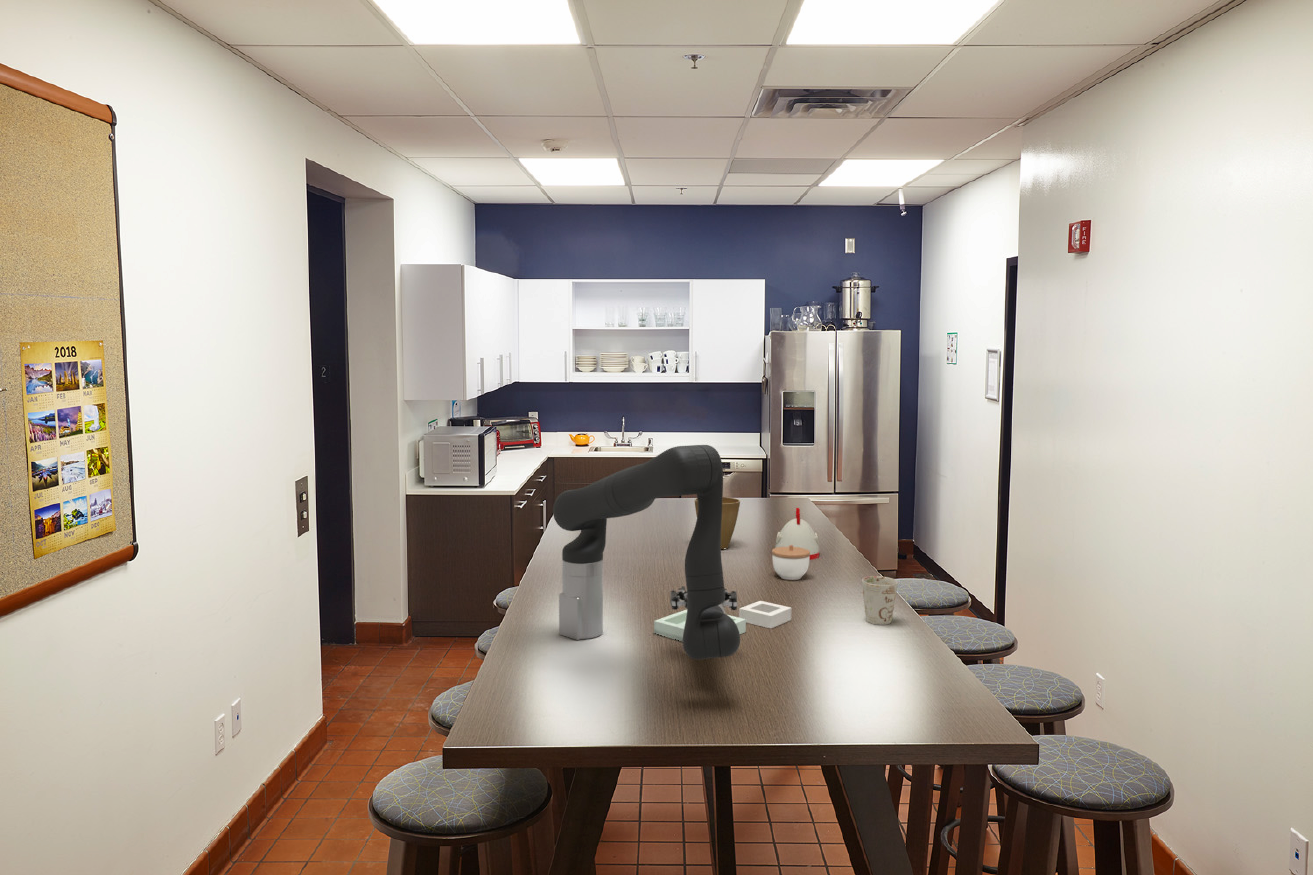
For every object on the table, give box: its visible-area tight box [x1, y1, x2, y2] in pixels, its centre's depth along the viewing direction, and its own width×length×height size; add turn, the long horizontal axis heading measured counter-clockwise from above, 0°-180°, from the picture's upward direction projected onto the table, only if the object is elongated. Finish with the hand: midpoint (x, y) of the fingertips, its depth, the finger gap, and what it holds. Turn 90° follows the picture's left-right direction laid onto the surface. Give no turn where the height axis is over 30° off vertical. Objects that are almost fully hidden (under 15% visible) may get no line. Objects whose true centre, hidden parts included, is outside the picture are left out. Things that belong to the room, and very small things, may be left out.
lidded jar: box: [771, 545, 810, 581], centre depth 253 cm, size 11×11×9 cm
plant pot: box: [694, 496, 741, 550], centre depth 289 cm, size 15×15×16 cm
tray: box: [653, 608, 747, 643], centre depth 203 cm, size 15×15×3 cm
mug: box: [861, 575, 899, 626], centre depth 215 cm, size 8×13×10 cm, turn 15°
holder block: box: [738, 600, 793, 629], centre depth 213 cm, size 9×9×3 cm
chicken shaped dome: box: [774, 507, 820, 561], centre depth 280 cm, size 14×14×15 cm
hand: (702, 590), depth 196 cm, fingers open, 8 cm apart
